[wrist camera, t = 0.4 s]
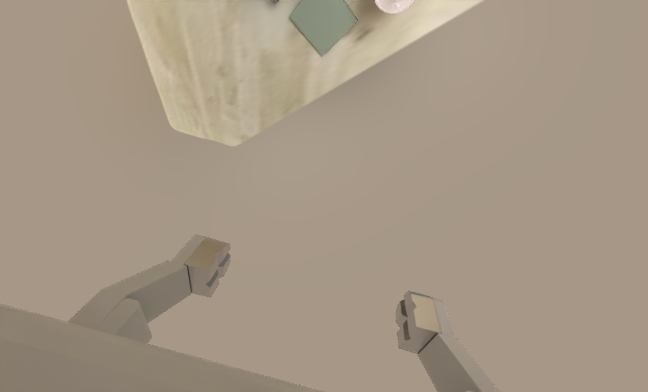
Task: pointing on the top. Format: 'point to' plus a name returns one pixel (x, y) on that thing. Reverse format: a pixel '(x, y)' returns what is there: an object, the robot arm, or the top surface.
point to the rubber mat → (323, 21)
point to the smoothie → (393, 5)
